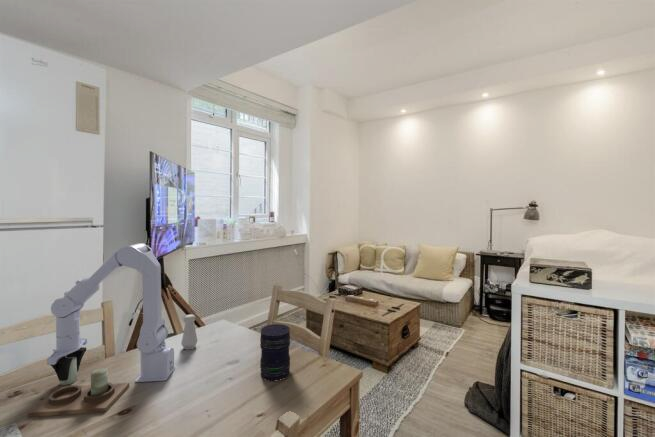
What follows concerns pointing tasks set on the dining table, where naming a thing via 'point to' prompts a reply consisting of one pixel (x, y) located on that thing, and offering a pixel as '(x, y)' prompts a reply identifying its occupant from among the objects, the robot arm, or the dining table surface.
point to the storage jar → (275, 352)
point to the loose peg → (71, 372)
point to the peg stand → (82, 397)
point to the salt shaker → (189, 333)
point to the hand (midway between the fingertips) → (68, 376)
